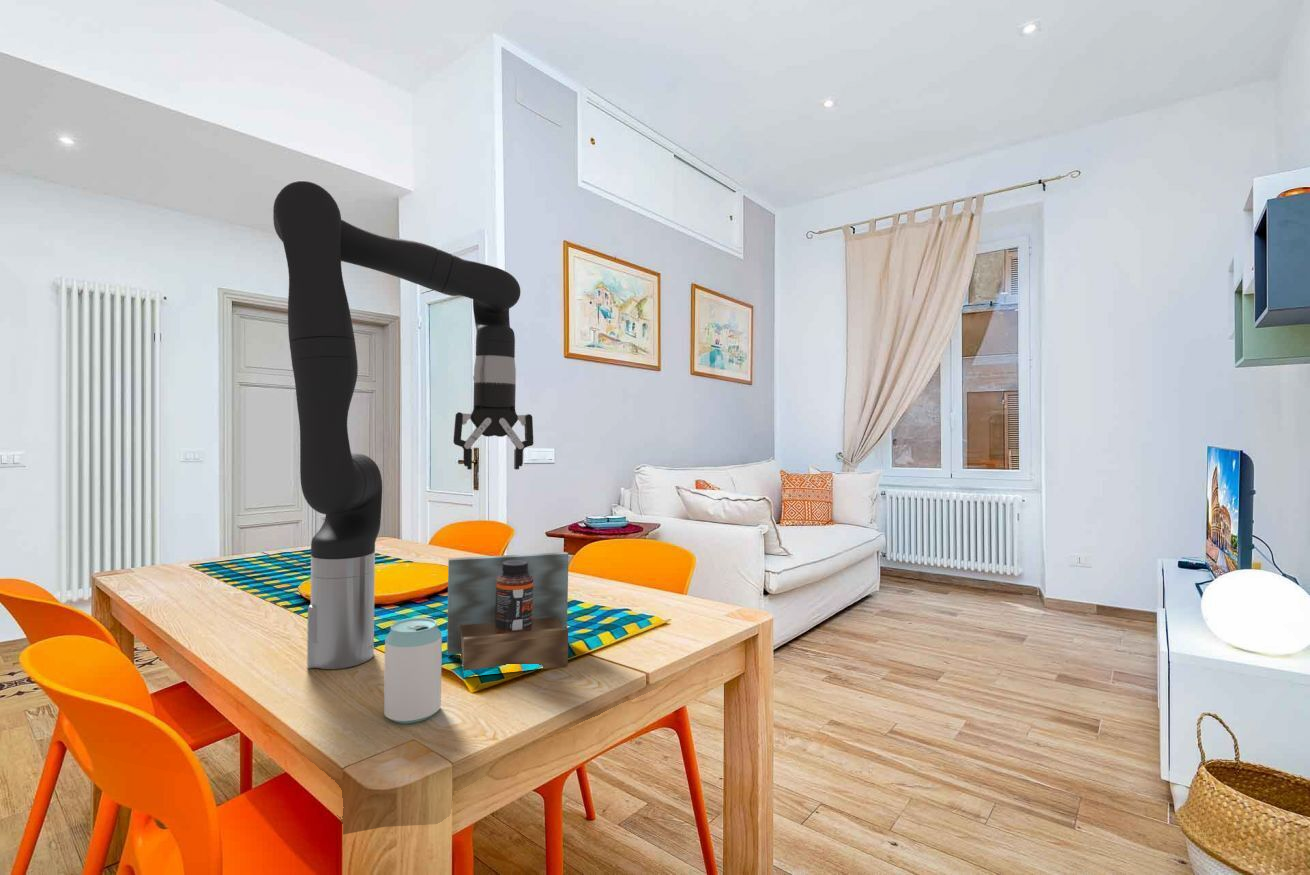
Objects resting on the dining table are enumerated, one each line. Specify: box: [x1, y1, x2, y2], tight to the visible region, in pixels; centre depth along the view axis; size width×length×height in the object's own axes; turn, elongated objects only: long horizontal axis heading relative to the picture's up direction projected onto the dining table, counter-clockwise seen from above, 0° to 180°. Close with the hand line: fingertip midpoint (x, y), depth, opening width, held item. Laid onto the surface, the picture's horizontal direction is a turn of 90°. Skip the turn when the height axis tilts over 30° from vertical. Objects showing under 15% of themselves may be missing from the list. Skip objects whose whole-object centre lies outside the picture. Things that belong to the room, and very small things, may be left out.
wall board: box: [446, 551, 569, 671], centre depth 102 cm, size 20×11×16 cm, turn 110°
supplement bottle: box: [495, 560, 533, 634], centre depth 101 cm, size 6×6×11 cm
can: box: [383, 617, 443, 724], centre depth 83 cm, size 7×7×12 cm
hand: (493, 469), depth 115 cm, fingers open, 8 cm apart
